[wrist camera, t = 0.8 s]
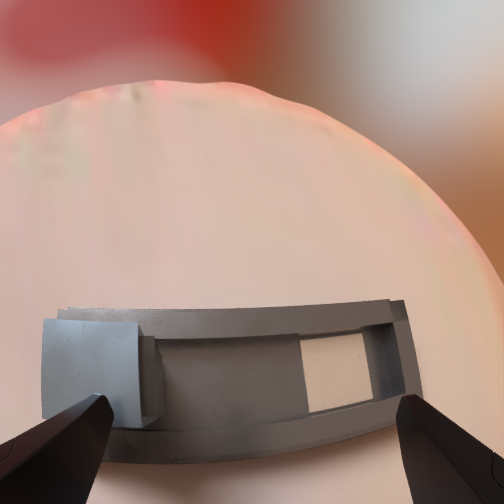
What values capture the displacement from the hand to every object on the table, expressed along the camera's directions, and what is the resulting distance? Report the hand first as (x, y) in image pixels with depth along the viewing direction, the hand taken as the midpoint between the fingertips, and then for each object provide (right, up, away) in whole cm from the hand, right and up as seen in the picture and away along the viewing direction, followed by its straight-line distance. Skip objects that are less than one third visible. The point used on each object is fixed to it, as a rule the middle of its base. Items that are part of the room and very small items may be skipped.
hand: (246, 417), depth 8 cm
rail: (0, -4, +12) cm, 13 cm away
